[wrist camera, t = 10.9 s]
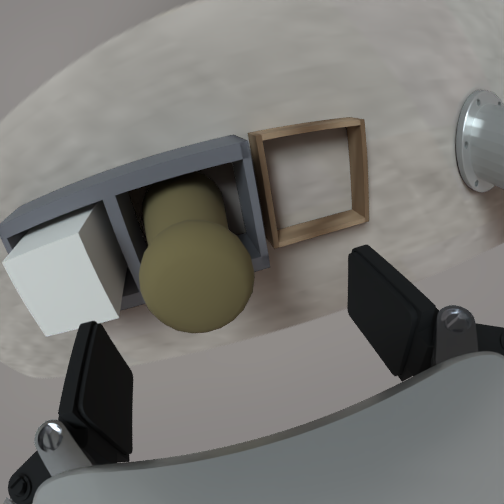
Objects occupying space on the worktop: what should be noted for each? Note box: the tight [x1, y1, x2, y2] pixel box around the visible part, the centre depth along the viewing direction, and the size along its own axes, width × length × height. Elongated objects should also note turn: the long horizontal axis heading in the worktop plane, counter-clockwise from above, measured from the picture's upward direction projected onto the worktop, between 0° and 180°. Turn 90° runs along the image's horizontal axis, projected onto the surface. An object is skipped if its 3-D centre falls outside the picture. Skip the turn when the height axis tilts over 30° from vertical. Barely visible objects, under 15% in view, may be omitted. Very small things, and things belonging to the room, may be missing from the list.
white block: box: [2, 200, 128, 337], centre depth 17 cm, size 6×6×7 cm
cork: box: [139, 171, 254, 333], centre depth 17 cm, size 6×6×11 cm
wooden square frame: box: [248, 117, 369, 249], centre depth 22 cm, size 8×8×2 cm
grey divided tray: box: [0, 135, 270, 311], centre depth 19 cm, size 17×9×4 cm, turn 100°
